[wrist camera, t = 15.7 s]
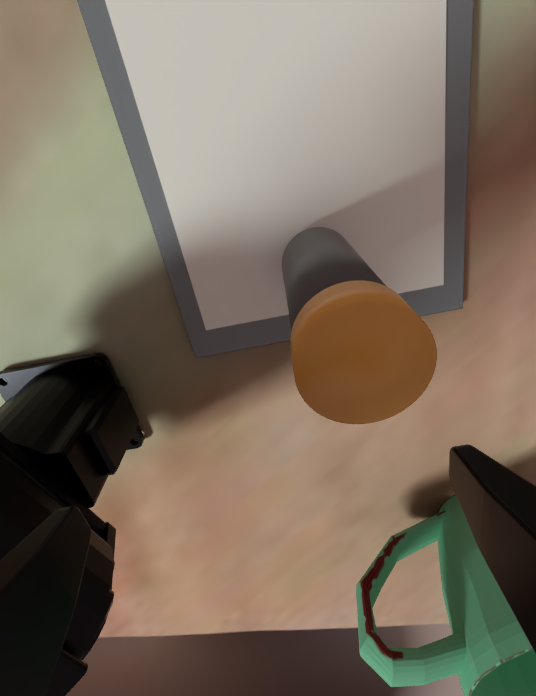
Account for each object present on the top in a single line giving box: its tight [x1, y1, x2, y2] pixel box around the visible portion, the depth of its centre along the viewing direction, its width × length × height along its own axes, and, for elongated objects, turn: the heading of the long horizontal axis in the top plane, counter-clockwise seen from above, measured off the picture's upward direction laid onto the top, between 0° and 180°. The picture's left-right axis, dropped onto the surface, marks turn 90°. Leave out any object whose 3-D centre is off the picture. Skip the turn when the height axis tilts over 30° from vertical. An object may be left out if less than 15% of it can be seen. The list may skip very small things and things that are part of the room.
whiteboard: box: [77, 0, 473, 358], centre depth 16 cm, size 14×18×2 cm
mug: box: [356, 495, 536, 696], centre depth 23 cm, size 15×10×10 cm
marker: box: [282, 227, 437, 424], centre depth 14 cm, size 3×3×10 cm
